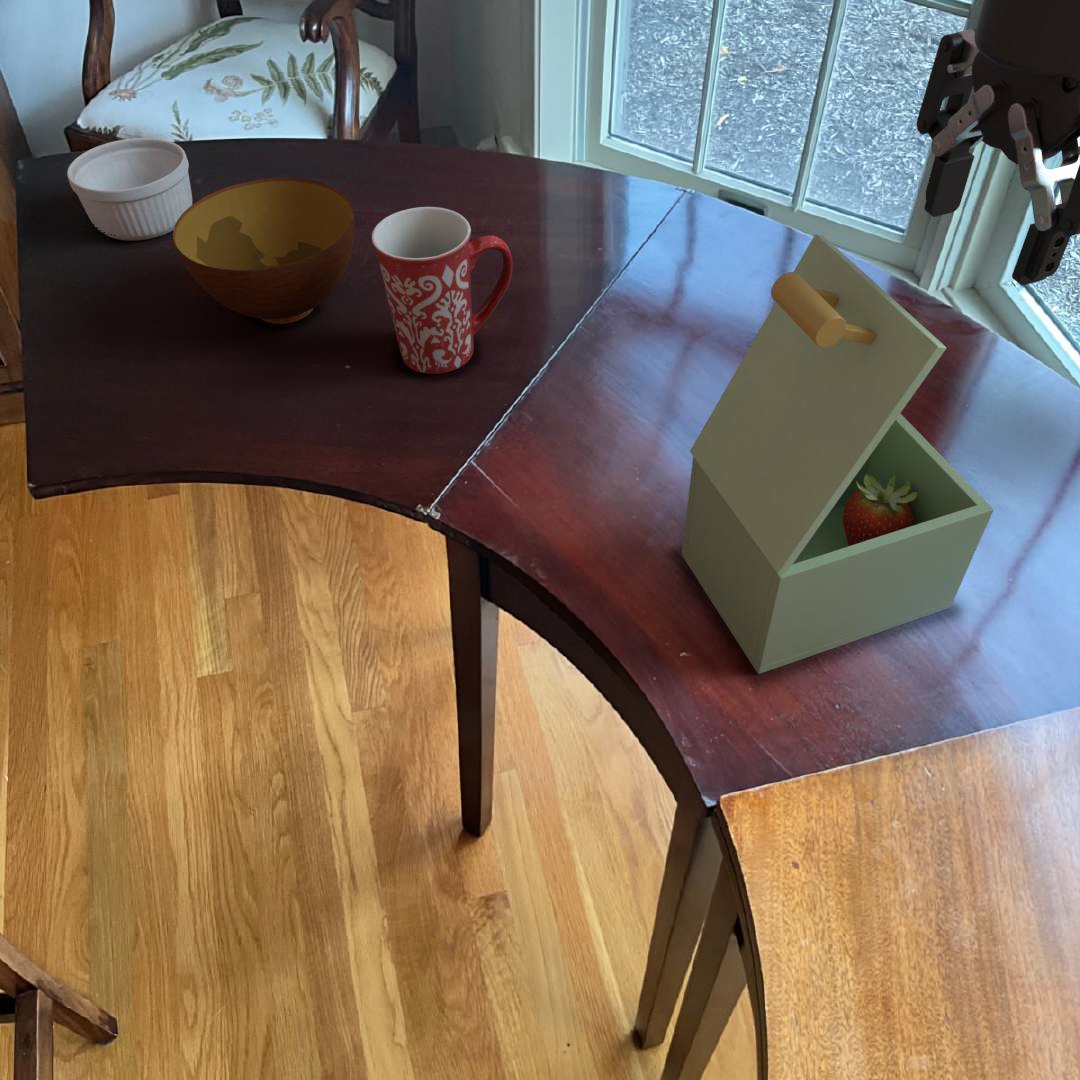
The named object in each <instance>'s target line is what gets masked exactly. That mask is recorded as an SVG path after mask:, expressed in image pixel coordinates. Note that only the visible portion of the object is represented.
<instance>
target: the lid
mask: <svg viewBox="0 0 1080 1080" xmlns="http://www.w3.org/2000/svg"><path fill="white" fill-rule="evenodd" d="M770 295H771V298H772V300H773V301H774V302H775V303H774V305H773V306H772V308H771V310H770V312H769V313H768V315H767V317H766V318H765V319H764V322H763V323H762V325H761V327H760V329H759V330H758V332H757V334H756V336H755V337H754V339H753V341H752V343H751V344H750V346H749V348H748V349H747V351H746V353H745V354H744V357H743V359H742V360H741V362H740V364H739V365H738V366H737V369H736V370H735V372H734V374H733V376H732V378H731V379H730V380H729V382H728V384H727V386H726V387H725V389H724V391H723V392H722V394H721V396H720V398H719V400H718V401H717V403H716V405H715V407H714V409H713V410H712V412H711V414H710V416H709V417H708V419H707V420H706V422H705V424H704V426H702V427H703V428H702V429H701V431H700V433H699V435H698V436H697V438H696V439H695V441H694V443H693V445H692V447H691V448H690V450H689V453H690V454H691V455H692V458H693V457H694V458H695V460H696V461H697V462H698V464H699V465H700V467H701V468H702V469H703V471H704V472H705V474H706V475H707V476H708V478H709V479H710V480H711V482H712V483H713V485H714V486H715V487H716V489H717V490H718V492H719V493H720V494H721V496H722V497H723V499H724V500H725V501H726V503H727V504H728V506H729V507H730V508H731V510H732V511H733V513H734V514H735V515H736V517H737V518H738V519H739V521H740V522H741V524H742V525H743V526H744V528H745V529H746V531H747V532H748V533H749V535H750V536H751V538H752V539H753V540H754V542H755V543H756V545H757V546H758V547H759V549H760V550H761V551H762V553H763V554H764V556H765V557H766V558H767V560H768V561H769V563H770V564H771V565H772V567H773V568H774V570H775V571H776V572H777V573H783V574H785V573H787V571H788V570H789V568H790V567H791V566H792V564H793V563H794V561H795V560H796V559H797V557H798V556H799V554H800V553H801V552H802V550H803V549H804V547H805V546H806V545H807V543H808V542H809V540H810V539H811V537H812V536H813V535H814V533H815V532H816V530H817V529H818V528H819V526H820V525H821V523H822V522H823V521H824V519H825V518H826V516H827V515H828V514H829V512H830V511H831V509H832V508H833V507H834V505H835V504H836V502H837V501H838V500H839V498H840V497H841V495H842V494H843V493H844V491H845V490H846V488H847V487H848V486H849V484H850V483H851V481H852V480H853V479H854V477H855V476H856V474H857V473H858V472H859V470H860V469H861V467H862V466H863V465H864V463H865V462H866V460H867V459H868V458H869V456H870V455H871V453H872V452H873V451H874V449H875V448H876V446H877V445H878V444H879V442H880V441H881V439H882V438H883V437H884V435H885V434H886V432H887V431H888V430H889V428H890V427H891V425H892V424H893V423H894V421H895V420H896V418H897V417H898V416H899V414H902V411H903V410H904V409H905V407H906V406H907V404H908V403H909V402H910V400H911V399H912V397H913V396H914V395H915V393H916V392H917V390H918V389H919V388H920V386H921V385H922V384H923V382H924V381H925V379H926V378H927V377H928V375H929V374H930V372H931V371H932V370H933V368H934V366H935V365H936V364H937V362H938V361H939V360H940V358H941V357H942V355H943V354H944V352H945V351H946V350H947V346H945V344H943V342H941V341H940V340H939V339H938V338H937V337H936V336H935V335H933V333H931V332H930V331H929V330H928V329H926V327H924V325H923V324H921V323H920V322H919V321H918V320H917V319H916V318H915V317H914V316H912V315H911V314H910V313H909V312H908V311H907V310H906V309H905V308H904V307H903V306H902V305H900V304H899V302H897V301H896V300H895V299H894V298H893V297H892V296H890V295H889V294H888V293H887V292H886V291H885V290H884V289H883V288H882V287H881V286H879V284H877V283H876V281H874V280H873V279H872V278H871V277H870V276H869V275H868V274H866V273H865V272H864V271H863V270H862V269H861V268H860V267H858V266H857V264H856V263H854V262H853V261H852V260H851V259H850V258H849V257H848V256H847V255H845V253H843V252H842V251H841V250H840V249H839V248H838V247H836V246H835V245H834V244H833V242H832V241H830V240H829V239H828V238H827V237H825V235H820V234H817V233H815V234H814V235H813V238H811V240H810V242H809V244H808V246H807V248H806V249H805V251H804V252H803V255H801V258H800V259H799V261H798V263H797V265H796V267H795V269H794V270H793V271H790V272H785V273H784V274H782V275H780V276H779V277H778V278H777V279H776V280H775V282H773V284H772V287H771V290H770Z"/></svg>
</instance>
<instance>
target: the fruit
mask: <svg viewBox="0 0 1080 1080" xmlns="http://www.w3.org/2000/svg"><path fill="white" fill-rule="evenodd" d="M895 477H896V475H894V476H891V477H890V479H889V481H888V483H887V487H886V489H883V488H882V486H881V484H880V483H879V482H878V481H876V480H875V479H874V477H873V476H872V475H870V476H869V477H868V475H867V474H865V476H864V484H865V486H866V488H864V487H862V486H861V485H859V484H858V483H857V481H856V483H857V487H858V489H859V490H858V491H857V492H855V493H854V494H853V495H852V496H851V497H850V498H849V500H848V501H847V503H846V505H845V508H844V512H843V526H844V529H845V532H846V537H847V541H848V545H849V546H851V545H855V544H858V543H861V542H864V541H867V540H870V539H873V538H876V537H879V536H883V535H886V534H889V533H892V532H895V531H898V530H901V529H904V528H907V527H911V526H913V523H914V515H913V512H912V509H911V507H910V506H909V504H908V502H910V501H912V500H915V498H916V497H917V492H912V493H911V494H909V495H907V496H906V497H903V496H904V495H906V494H907V493H908V491H909V490H910V488H911V486H910V482H909V481H908V480H907V481H906V483H905V484H904V485H903V486H902V487H901V488H900V489H898V490H896V491H895V492H893V490H894V487H895Z"/></svg>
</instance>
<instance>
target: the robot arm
mask: <svg viewBox="0 0 1080 1080" xmlns="http://www.w3.org/2000/svg"><path fill="white" fill-rule="evenodd" d="M972 90H973V92H974V94H972V97H971V93H972ZM970 97H971V99H970ZM946 98H948V99H947V102H946V106H945V108H944V109H941V108H942V105H943V103H944V100H945V99H946ZM916 129H917V131H918V133H919V134H920V135H928V136H929V137H930V139H931V151H932V154H933V155H934V160H933V162H932V166H931V169H930V170H931V171H930V175H929V177H928V183H927V185H926V189H925V204H924V209H923V210H924V211H925V212H926V213H927V214H928V215H930V216H931V217H934V218H936V217H940V216H944V215H948V214H952V213H955V212H956V211H957V210H958V209H959V208H960V206H961V203H962V200H963V196H964V193H965V190H966V187H967V183H968V180H969V177H970V173H971V170H972V168H973V167H972V166H973V163H974V160H975V155H974V154H972V153H971V152H970V150H971V149H974V148H976V147H977V146H978V145H980V143H981V142H983V143H984V144H985V145H987V146H989V147H990V148H994V149H998V150H1000V151H1001V152H1002V153H1003V154H1004V155H1005V157H1006V158H1007V159H1008V160H1009V161H1011V162H1013V163H1014V164H1015V165H1016V166H1017V165H1018V170H1019V178H1020V184H1021V186H1022V188H1023V189H1024V190H1026V191H1028V192H1029V195H1030V201H1031V206H1032V215H1033V222H1034V223H1030V224H1029V227H1028V230H1027V232H1026V236H1025V238H1024V241H1023V243H1022V247H1021V248H1020V251H1019V255H1018V257H1017V260H1016V263H1015V265H1014V269H1013V272H1012V274H1011V278H1012V279H1013V280H1014V281H1015V282H1016V283H1018V284H1019V285H1020V286H1027V285H1031V284H1034V283H1037V282H1041V281H1044V280H1045V279H1047V278H1048V277H1052V276H1053V275H1054V274H1055V273H1056V272H1057V271H1058V270H1059V267H1060V265H1061V261H1062V260H1063V257H1064V254H1065V252H1066V249H1067V247H1068V244H1069V242H1070V241H1071V240H1070V239H1071V238H1072V237H1073V236H1077V235H1080V0H983V1H982V4H981V9H980V13H979V15H978V20H977V23H976V27H975V28H973V29H972V28H970V29H966V30H965V29H964V30H960V31H956V32H954V33H948V34H945V35H943V36H942V37H941V38H940V41H939V43H938V47H937V51H936V53H935V57H934V61H933V63H932V68H931V70H930V74H929V78H928V81H927V84H926V88H925V91H924V95H923V98H922V102H921V105H920V109H919V112H918V115H917V119H916ZM1060 152H1061V157H1062V158H1061V159H1062V160H1061V164H1060V165H1059V166H1058V167H1054V168H1048V167H1046V166H1045V164H1044V160H1048V159H1051V158H1053V157H1055V156H1057V155H1058V154H1059V153H1060ZM1055 184H1057V185H1058V187H1059V193H1060V202H1061V203H1058V204H1056V196H1055V189H1054V186H1055Z"/></svg>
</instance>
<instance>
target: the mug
mask: <svg viewBox="0 0 1080 1080" xmlns="http://www.w3.org/2000/svg"><path fill="white" fill-rule="evenodd" d="M471 235H472V228H471V225H470V223H469V222H468V220H467V219H466V218H465V216H463V215H462V214H461V213H459V212H456V211H455V210H451V209H448V208H445V207H437V206H420V207H412V208H407V209H403V210H399V211H397V212H394V213H392V214H390V215H388V216H386V217H384V218H382V220H381V221H379V222H378V223H377V224H376V225H375V226H374V228H373V229H372V233H371V243H372V245H373V248H374V249H375V251H376V255H377V260H378V263H379V267H380V272H381V277H382V280H383V284H384V288H385V294H386V297H387V301H388V305H389V310H390V314H391V318H392V323H393V326H394V330H395V331H394V332H395V334H396V339H397V343H398V347H399V353H400V355H401V359H402V361H403V363H404V364H405V365H406V366H407V368H409V369H410V370H413V371H415V372H418V373H421V374H426V375H439V374H440V375H441V374H447V373H450V372H453V371H455V370H457V369H459V368H461V367H463V366H465V365H466V364H467V363H468V362H469V361H470V360H471V358H472V357H473V355H474V349H475V343H474V337H475V335H476V333H478V331H479V330H480V329H481V327H482V326H483V325H484V324H485V323H486V322H487V320H488V319H489V318H490V316H492V314H493V312H494V311H495V310H496V309H497V307H498V305H500V302H501V301H502V300H503V297H504V296H505V294H506V292H507V290H508V288H509V285H510V283H511V280H512V276H513V268H514V262H513V255H512V252H511V250H510V248H509V246H508V244H507V243H506V242H505V241H504V240H503V239H502V238H500V237H498V236H496V235H483V236H480V237H478V238H476V239H474V240H472V241H470V239H471ZM489 250H496V251H499V252H500V253H501V255H502V269H501V273H500V275H499V278H498V280H497V282H496V283H495V286H494V287H493V289H492V290H491V292H490V294H489V295H488V296H487V298H486V299H485V301H484V302H483V304H482V305H480V307H479V308H478V309H477V310H476V311H475V312H473V305H472V304H473V302H472V301H473V300H472V278H471V277H472V276H471V272H472V271H473V270H474V269H475V267H476V264H477V262H478V260H479V258H480V256H481V255H482V254H484V253H485V252H487V251H489Z"/></svg>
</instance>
